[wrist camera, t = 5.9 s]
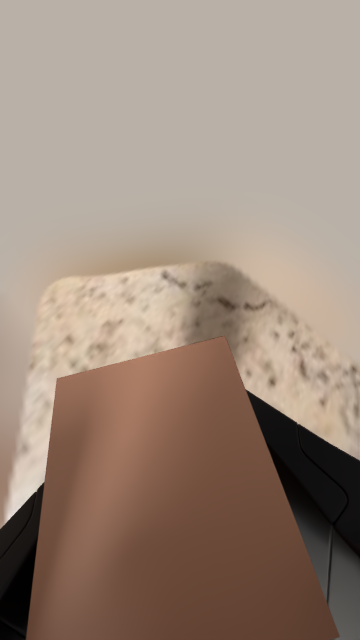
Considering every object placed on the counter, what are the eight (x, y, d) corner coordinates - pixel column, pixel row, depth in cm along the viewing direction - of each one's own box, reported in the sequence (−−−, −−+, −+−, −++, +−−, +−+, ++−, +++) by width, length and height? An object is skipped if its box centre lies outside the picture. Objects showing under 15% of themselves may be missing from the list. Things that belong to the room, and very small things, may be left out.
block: (226, 446, 12) (339, 636, 2) (167, 461, 12) (16, 721, 2) (208, 383, 14) (224, 335, 4) (157, 396, 14) (57, 378, 4)
